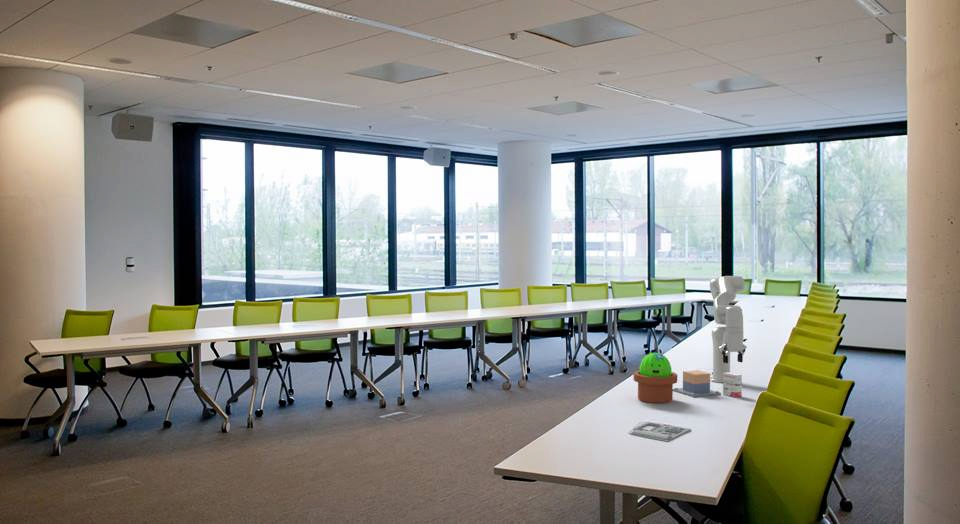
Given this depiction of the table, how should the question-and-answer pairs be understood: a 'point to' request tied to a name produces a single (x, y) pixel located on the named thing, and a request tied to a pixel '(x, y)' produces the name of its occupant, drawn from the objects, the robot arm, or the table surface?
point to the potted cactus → (655, 379)
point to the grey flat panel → (659, 432)
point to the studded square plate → (696, 384)
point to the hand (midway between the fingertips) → (732, 362)
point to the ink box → (732, 384)
